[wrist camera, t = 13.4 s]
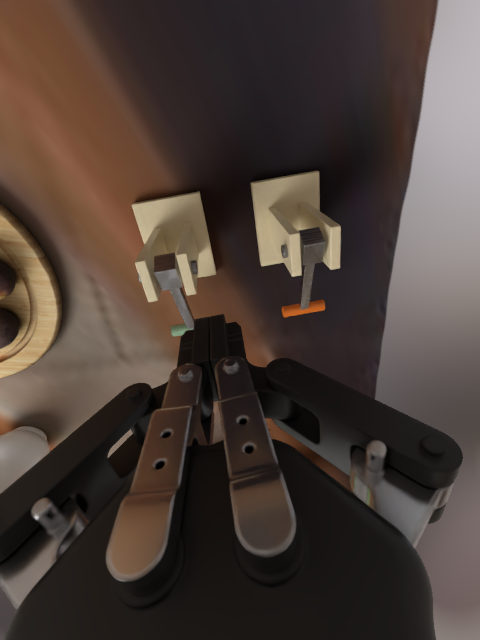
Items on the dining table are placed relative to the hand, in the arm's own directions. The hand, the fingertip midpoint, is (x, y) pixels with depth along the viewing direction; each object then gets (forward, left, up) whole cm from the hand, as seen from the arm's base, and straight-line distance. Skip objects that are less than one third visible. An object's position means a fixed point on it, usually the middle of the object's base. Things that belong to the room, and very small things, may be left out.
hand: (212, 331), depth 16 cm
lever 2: (+7, +10, -21) cm, 24 cm away
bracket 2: (+3, +10, -29) cm, 31 cm away
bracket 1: (+3, -5, -29) cm, 30 cm away
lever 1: (+7, -5, -21) cm, 23 cm away
